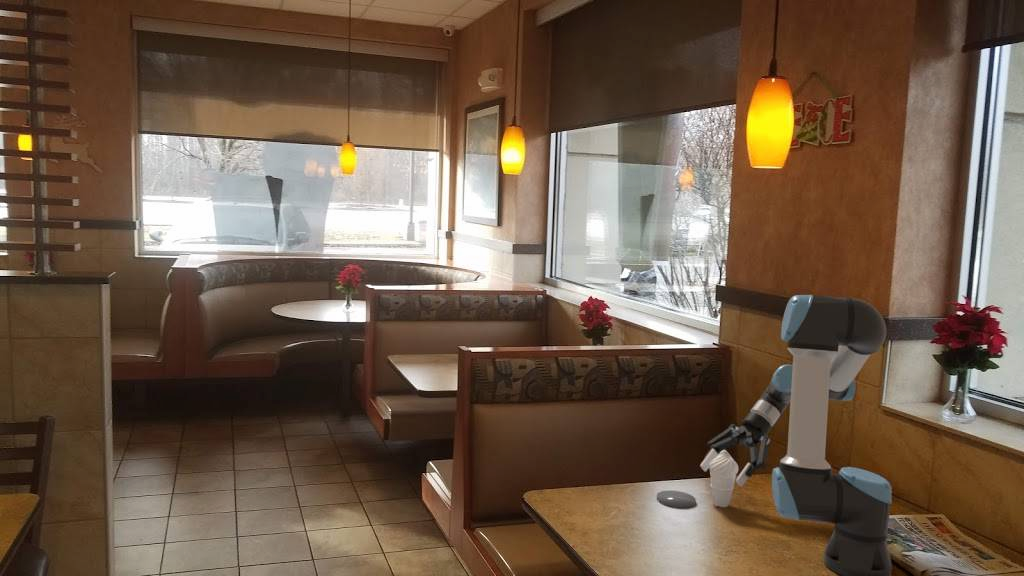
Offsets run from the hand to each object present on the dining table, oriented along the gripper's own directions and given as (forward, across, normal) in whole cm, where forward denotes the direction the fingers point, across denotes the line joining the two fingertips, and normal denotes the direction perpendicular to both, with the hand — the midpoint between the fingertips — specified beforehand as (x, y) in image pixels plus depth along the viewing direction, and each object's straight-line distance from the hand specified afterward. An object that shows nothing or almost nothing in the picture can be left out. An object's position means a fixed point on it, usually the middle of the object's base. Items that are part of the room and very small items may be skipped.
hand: (720, 476), depth 231 cm
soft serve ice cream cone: (+6, 0, -7) cm, 9 cm away
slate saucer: (+12, +7, +1) cm, 14 cm away
